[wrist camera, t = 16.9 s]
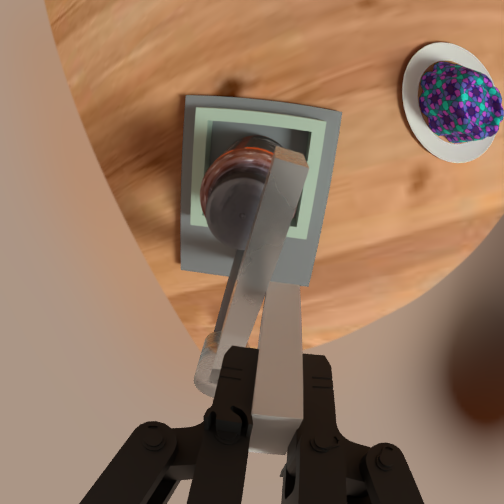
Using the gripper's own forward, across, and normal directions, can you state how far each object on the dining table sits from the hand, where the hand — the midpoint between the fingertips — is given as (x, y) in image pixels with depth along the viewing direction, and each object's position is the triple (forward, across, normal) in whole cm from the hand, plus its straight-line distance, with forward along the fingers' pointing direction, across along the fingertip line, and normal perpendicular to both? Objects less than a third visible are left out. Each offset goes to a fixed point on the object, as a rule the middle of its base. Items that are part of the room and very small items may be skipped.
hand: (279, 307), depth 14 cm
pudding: (+17, +15, +13) cm, 26 cm away
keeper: (+2, -2, 0) cm, 3 cm away
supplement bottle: (+15, -2, +3) cm, 15 cm away
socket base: (+16, -3, 0) cm, 16 cm away
